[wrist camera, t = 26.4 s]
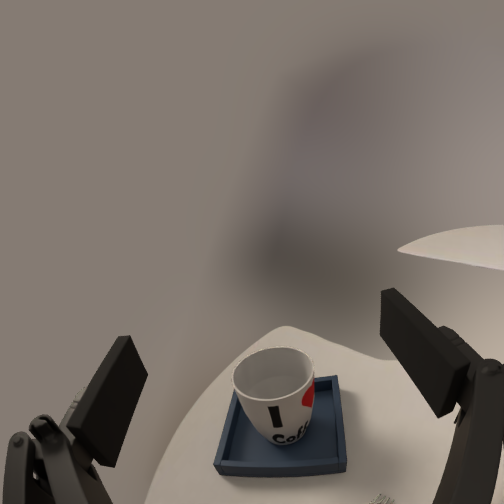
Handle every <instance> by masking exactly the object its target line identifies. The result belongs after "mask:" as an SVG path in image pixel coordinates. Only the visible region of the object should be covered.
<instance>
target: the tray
mask: <svg viewBox="0 0 504 504" xmlns="http://www.w3.org/2000/svg"><path fill="white" fill-rule="evenodd" d="M213 465H214V467H215V468H216V470H217V471H218V473H219V474H220V475H229V476H246V477H295V476H312V475H323V474H333V473H341V472H346V465H347V456H346V445H345V435H344V425H343V416H342V408H341V400H340V392H339V384H338V377H337V375H335V376H327V377H319V378H314V402H313V408H312V414H311V419H310V422H309V424H308V427H307V429H306V431H305V433H304V435H303V436H302V437H301V438H300V439H299V440H298V441H296V442H294V443H291V444H288V445H277V444H274V443H271V442H270V441H268V440H267V439H266V438H265V437H264V436H263V435H262V434H260V433H259V432H258V431H257V429H256V428H255V427H254V425H253V424H252V422H251V421H250V419H249V418H248V416H247V415H246V413H245V412H244V409H243V407H242V405H241V403H240V401H239V398H238V396H237V394H236V391H235V389H234V392H233V396H232V400H231V403H230V407H229V410H228V414H227V418H226V421H225V425H224V428H223V432H222V436H221V439H220V443H219V446H218V450H217V453H216V457H215V460H214V464H213Z"/></svg>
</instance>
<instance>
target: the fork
mask: <svg viewBox="0 0 504 504" xmlns="http://www.w3.org/2000/svg"><path fill="white" fill-rule="evenodd" d="M380 495H381V494H379V495H378V496H377V497H376V498H375V499H374V500H373V501H372V502H370V503H369V504H373V503H374V502H375V501H376V500H377V499H378V497H379V496H380ZM385 497H386V496H384V497H383V498H382V499H381V500H380V501H379V502H378V503H377V504H380V503H381V502H382V501H383V499H384V498H385ZM389 499H390V498H388V499H387V500H386V501H385V502H384V503H383V504H386V503H387V501H388V500H389ZM393 502H394V499H393V501H392V502H391V503H390V504H392V503H393Z"/></svg>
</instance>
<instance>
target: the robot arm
mask: <svg viewBox="0 0 504 504" xmlns="http://www.w3.org/2000/svg"><path fill="white" fill-rule="evenodd" d="M380 336H381V337H382V339H383V340H384V341H385V343H386V344H387V346H388V347H389V348H390V350H391V351H392V352H393V354H394V355H395V356H396V358H397V359H398V361H399V362H400V364H401V365H402V366H403V368H404V369H405V371H406V372H407V373H408V375H409V376H410V378H411V379H412V381H413V382H414V384H415V385H416V386H417V388H418V389H419V391H420V392H421V394H422V395H423V397H424V398H425V400H426V401H427V403H428V404H429V406H430V407H431V409H432V410H433V412H434V413H435V415H436V416H437V418H440V417H443V416H445V415H446V414H448V413H450V412H452V411H453V409H454V407H455V405H456V402H457V403H458V404H459V405H460V407H461V408H460V410H459V413H458V415H457V417H456V419H455V421H454V423H455V424H456V422H457V424H456V428H455V433H454V437H453V441H452V445H451V449H450V453H449V456H448V460H447V463H446V467H445V470H444V473H443V476H442V479H441V482H440V485H439V488H438V490H437V493H436V496H435V498H434V501H433V503H432V504H491V501H492V497H493V493H494V489H495V484H496V480H497V475H498V469H499V464H500V457H501V450H502V442H503V445H504V364H501V363H500V362H499V361H497V360H495V359H483V358H482V357H481V356H480V355H479V354H478V353H477V352H476V351H475V350H474V349H472V347H470V346H469V345H468V344H467V343H466V342H465V341H464V340H463V339H462V338H461V337H459V335H458V334H457V333H456V332H455V331H454V330H452V329H450V328H447V327H445V326H442V327H439V328H437V327H436V326H435V325H434V324H433V323H432V322H431V321H430V320H429V319H427V318H426V317H425V316H424V315H423V314H422V313H421V312H420V311H419V310H418V309H417V308H416V307H415V306H414V305H413V304H411V303H410V302H409V301H408V300H407V299H406V298H405V297H404V296H403V295H402V294H400V293H399V292H398V291H397V290H396V289H395V288H391V289H387V290H383V291H381V320H380ZM147 376H148V373H147V371H146V369H145V367H144V365H143V363H142V361H141V359H140V356H139V354H138V352H137V350H136V348H135V345H134V343H133V341H132V339H131V336H130V335H129V336H119V337H118V338H117V339H116V341H115V342H114V344H113V346H112V347H111V349H110V351H109V352H108V354H107V355H106V357H105V358H104V360H103V362H102V363H101V365H100V367H99V368H98V370H97V371H96V373H95V375H94V376H93V378H92V380H91V382H90V383H89V385H88V387H84V388H83V389H82V390H81V391H80V392H79V393H78V394H77V395H76V397H75V399H74V400H73V402H72V404H71V406H70V408H69V409H68V411H67V412H66V414H65V416H64V418H63V419H62V421H61V423H60V425H59V427H58V425H57V424H56V423H55V422H54V420H53V419H52V418H51V417H50V416H49V415H40V416H38V417H36V418H34V420H33V421H32V422H31V423H30V425H29V431H30V432H31V433H32V434H33V435H34V437H35V438H36V439H31V438H30V437H29V436H28V435H27V433H25V432H17V433H15V434H14V435H13V436H12V437H11V439H10V441H9V445H8V451H7V457H6V465H5V474H4V485H3V504H113V503H112V501H111V499H110V497H109V495H108V493H107V491H106V490H105V488H104V486H103V484H102V481H101V479H100V478H99V475H98V473H97V471H96V469H95V467H94V466H93V465H92V464H91V463H92V460H93V458H94V459H95V460H96V461H97V462H98V463H99V464H100V465H102V466H107V467H113V468H115V465H116V462H117V459H118V456H119V453H120V450H121V447H122V444H123V441H124V439H125V436H126V433H127V430H128V427H129V424H130V422H131V419H132V416H133V413H134V411H135V408H136V405H137V403H138V400H139V397H140V394H141V392H142V389H143V387H144V384H145V382H146V379H147ZM33 472H34V473H35V474H36V479H35V478H34V477H33Z"/></svg>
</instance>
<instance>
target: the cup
mask: <svg viewBox="0 0 504 504" xmlns="http://www.w3.org/2000/svg"><path fill="white" fill-rule="evenodd" d="M231 381H232V385H233V387H234V389H235V391H236V394H237V396H238V398H239V401H240V403H241V405H242V407H243V409H244V412H245V413H246V415H247V416H248V418H249V419H250V421H251V422H252V424H253V425H254V427H255V428H256V429H257V431H258V432H259V433H260V434H262V435H263V436H264V437H265V438H266V439H267V440H268V441H270V442H271V443H274V444H277V445H288V444H291V443H294V442H296V441H298V440H299V439H300V438H301V437H302V436H303V435H304V433H305V431H306V429H307V427H308V424H309V422H310V419H311V414H312V408H313V402H314V364H313V361H312V359H311V358H310V356H309V355H308V354H306V353H305V352H303V351H301V350H299V349H296V348H292V347H284V346H278V347H269V348H265V349H261V350H258V351H256V352H253V353H251V354H249V355H248V356H246V357H245V358H243V359H242V360H241V361H240V362H239V363H238V364H237V365H236V366H235V368H234V370H233V372H232V376H231Z"/></svg>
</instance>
